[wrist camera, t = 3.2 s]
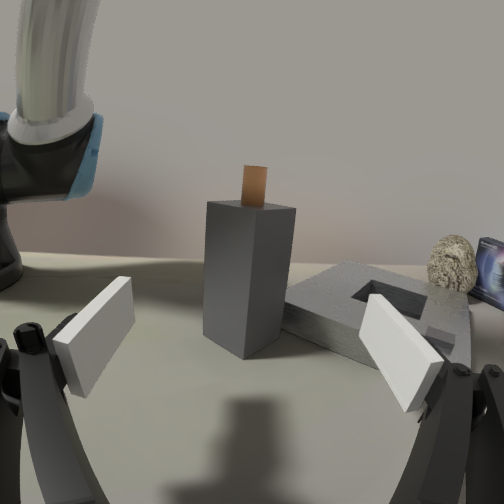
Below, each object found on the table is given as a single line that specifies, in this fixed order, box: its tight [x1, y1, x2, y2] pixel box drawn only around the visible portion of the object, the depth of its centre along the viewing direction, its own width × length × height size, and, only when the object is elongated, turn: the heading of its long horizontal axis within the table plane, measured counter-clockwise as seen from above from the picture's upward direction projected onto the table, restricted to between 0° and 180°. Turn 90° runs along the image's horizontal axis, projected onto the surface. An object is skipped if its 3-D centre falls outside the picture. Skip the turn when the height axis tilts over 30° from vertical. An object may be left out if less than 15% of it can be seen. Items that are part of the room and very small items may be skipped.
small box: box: [467, 237, 504, 311], centre depth 34 cm, size 11×6×10 cm, turn 25°
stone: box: [427, 235, 478, 294], centre depth 36 cm, size 6×10×10 cm, turn 4°
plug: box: [203, 166, 296, 360], centre depth 23 cm, size 5×5×15 cm
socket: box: [281, 260, 471, 370], centre depth 29 cm, size 20×20×4 cm
